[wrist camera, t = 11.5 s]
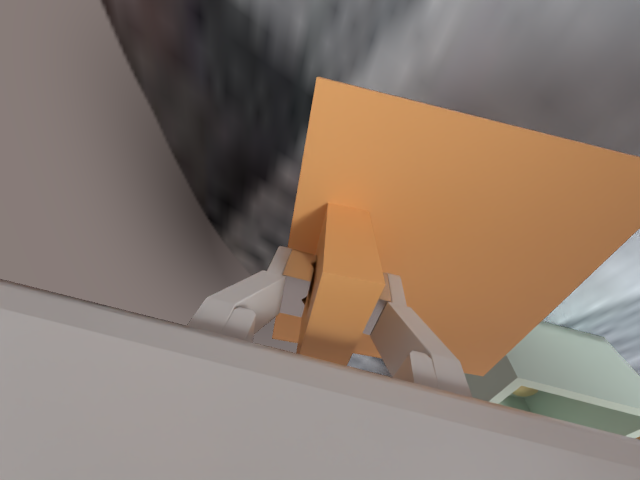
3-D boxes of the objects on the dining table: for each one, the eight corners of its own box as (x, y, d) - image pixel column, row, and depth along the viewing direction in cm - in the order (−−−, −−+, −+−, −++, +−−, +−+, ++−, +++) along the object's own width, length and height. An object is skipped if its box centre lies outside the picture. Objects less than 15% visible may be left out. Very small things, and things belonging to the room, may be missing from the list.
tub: (603, 337, 24) (679, 419, 19) (523, 397, 31) (560, 471, 25) (481, 305, 25) (517, 377, 19) (426, 372, 31) (441, 440, 25)
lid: (638, 155, 10) (941, 240, 5) (468, 346, 17) (524, 462, 12) (320, 76, 9) (299, 82, 4) (278, 310, 16) (252, 419, 11)
